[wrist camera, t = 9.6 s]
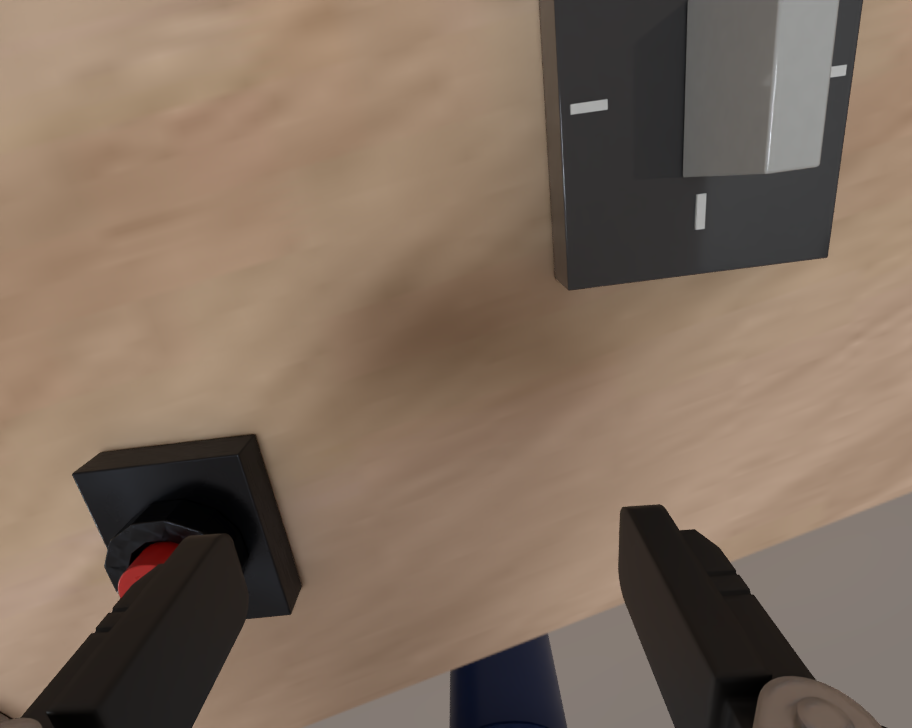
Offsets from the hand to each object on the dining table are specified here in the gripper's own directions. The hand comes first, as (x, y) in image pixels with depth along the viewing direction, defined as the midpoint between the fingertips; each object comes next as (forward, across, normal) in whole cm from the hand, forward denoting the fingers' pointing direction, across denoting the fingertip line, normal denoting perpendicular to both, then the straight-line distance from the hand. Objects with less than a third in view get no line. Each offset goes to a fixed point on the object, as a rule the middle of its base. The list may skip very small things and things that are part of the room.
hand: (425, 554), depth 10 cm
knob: (+13, -11, -10) cm, 19 cm away
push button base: (+16, +15, +10) cm, 24 cm away
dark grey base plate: (+16, -11, -10) cm, 21 cm away
